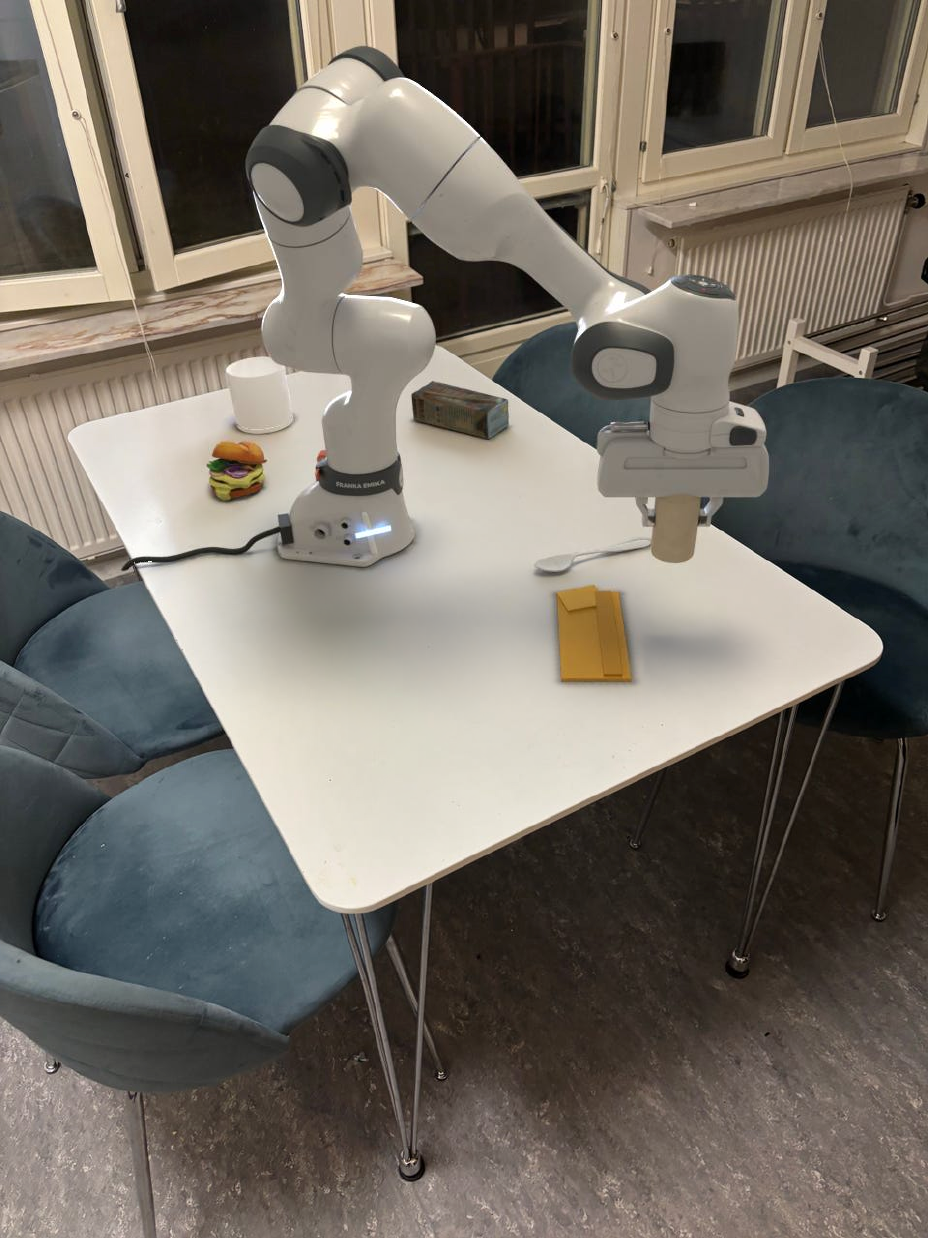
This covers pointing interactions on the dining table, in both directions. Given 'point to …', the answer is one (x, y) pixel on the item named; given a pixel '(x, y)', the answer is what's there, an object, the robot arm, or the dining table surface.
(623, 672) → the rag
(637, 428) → the robot arm
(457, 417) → the beverage carton
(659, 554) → the candle
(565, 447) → the dining table surface
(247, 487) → the cheeseburger
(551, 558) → the spoon
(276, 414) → the cup
